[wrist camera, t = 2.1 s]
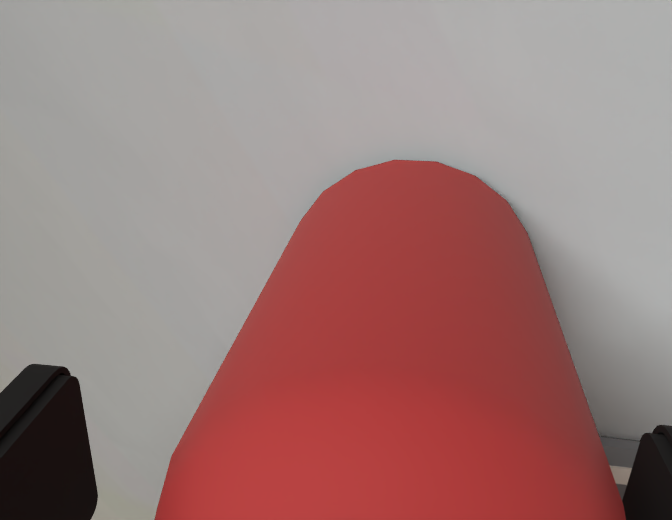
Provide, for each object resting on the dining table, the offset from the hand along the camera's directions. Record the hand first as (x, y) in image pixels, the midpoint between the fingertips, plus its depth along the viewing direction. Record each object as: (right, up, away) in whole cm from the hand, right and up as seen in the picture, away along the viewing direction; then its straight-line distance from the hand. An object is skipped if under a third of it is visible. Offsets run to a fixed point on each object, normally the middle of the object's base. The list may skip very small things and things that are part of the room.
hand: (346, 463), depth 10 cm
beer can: (+2, +3, +7) cm, 8 cm away
